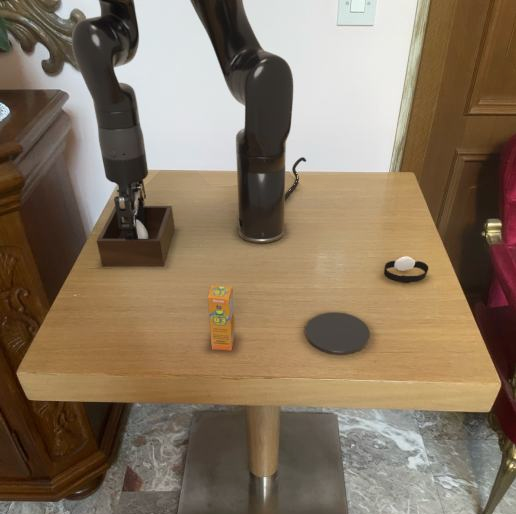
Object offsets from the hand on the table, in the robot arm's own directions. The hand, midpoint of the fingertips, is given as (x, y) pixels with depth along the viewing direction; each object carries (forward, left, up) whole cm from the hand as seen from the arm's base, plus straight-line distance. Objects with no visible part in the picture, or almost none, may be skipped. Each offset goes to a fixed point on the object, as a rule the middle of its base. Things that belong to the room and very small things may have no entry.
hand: (136, 234), depth 102 cm
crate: (-1, 0, -3) cm, 3 cm away
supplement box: (+22, +27, -3) cm, 35 cm away
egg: (-1, 0, -3) cm, 3 cm away
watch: (-6, +51, -3) cm, 51 cm away
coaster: (+14, +43, -3) cm, 45 cm away
